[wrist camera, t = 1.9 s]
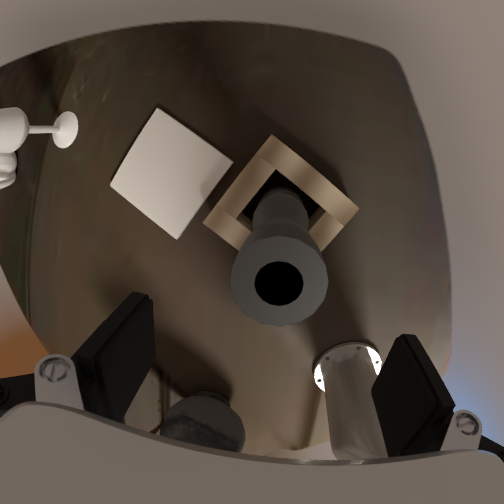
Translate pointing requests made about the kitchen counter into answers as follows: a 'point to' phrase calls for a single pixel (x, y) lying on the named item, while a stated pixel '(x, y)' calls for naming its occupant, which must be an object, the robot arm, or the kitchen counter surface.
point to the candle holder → (279, 263)
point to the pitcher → (203, 422)
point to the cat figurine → (7, 169)
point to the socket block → (297, 171)
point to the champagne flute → (34, 129)
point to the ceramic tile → (169, 172)
